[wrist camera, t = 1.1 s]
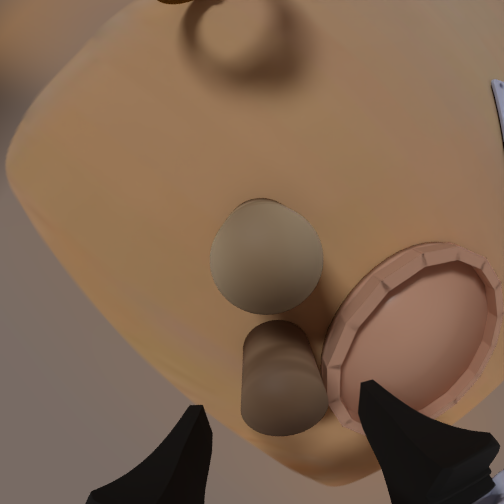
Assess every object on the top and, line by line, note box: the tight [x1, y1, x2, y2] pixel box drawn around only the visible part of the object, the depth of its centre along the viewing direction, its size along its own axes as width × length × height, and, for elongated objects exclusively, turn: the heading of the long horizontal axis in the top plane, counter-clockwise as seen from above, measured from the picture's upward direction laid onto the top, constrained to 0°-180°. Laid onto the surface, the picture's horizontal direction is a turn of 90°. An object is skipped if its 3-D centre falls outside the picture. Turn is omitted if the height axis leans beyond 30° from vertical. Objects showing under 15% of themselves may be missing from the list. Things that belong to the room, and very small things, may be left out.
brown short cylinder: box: [241, 320, 328, 436], centre depth 14 cm, size 4×4×6 cm
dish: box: [321, 242, 504, 436], centre depth 16 cm, size 15×15×2 cm
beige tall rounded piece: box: [210, 198, 323, 315], centre depth 13 cm, size 4×4×6 cm
